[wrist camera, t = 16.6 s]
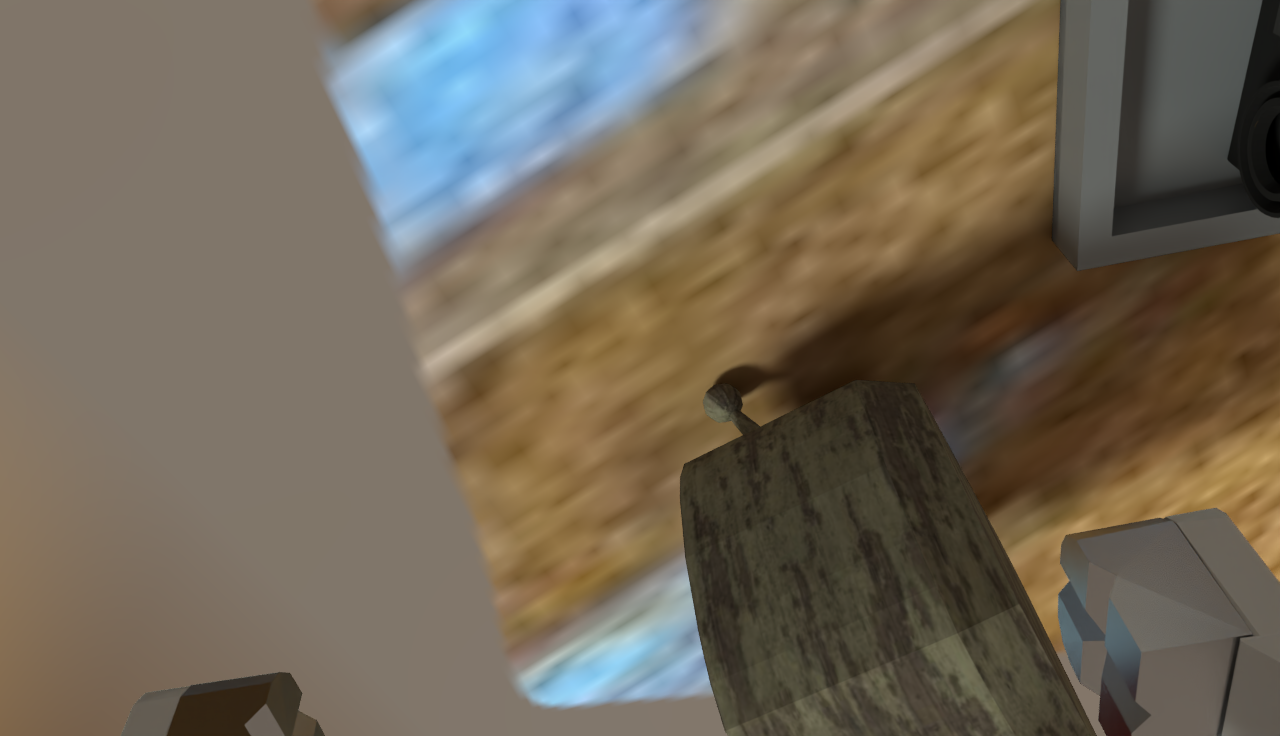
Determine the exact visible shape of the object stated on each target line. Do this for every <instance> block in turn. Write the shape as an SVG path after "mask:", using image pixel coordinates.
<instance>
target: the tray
mask: <svg viewBox="0 0 1280 736" xmlns="http://www.w3.org/2000/svg"><path fill="white" fill-rule="evenodd" d="M1261 5H1262V0H1061V5H1060V32H1059V59H1058V87H1057V114H1056V141H1055V168H1054V196H1053V223H1052V241H1053V242H1054V243H1055V245H1056V246H1057V247H1058V248H1059V249H1060V251H1061V252H1062V253H1063V254H1064V256H1065V257H1066V258H1067V259H1068V260H1069V262H1070V263H1071V264H1072V265H1073V267H1074V268H1075V269H1076V270H1077V271H1080V270H1085V269H1091V268H1096V267H1102V266H1107V265H1112V264H1118V263H1123V262H1128V261H1134V260H1139V259H1144V258H1150V257H1155V256H1161V255H1166V254H1171V253H1177V252H1182V251H1187V250H1193V249H1198V248H1203V247H1209V246H1214V245H1220V244H1225V243H1230V242H1236V241H1241V240H1246V239H1252V238H1257V237H1262V236H1268V235H1273V234H1279V233H1280V218H1272V217H1269V216H1267V215H1265V214H1263V213H1262V212H1260V211H1259V210H1258V209H1257V208H1256V207H1255V206H1254V205H1253V203H1252V202H1251V200H1250V199H1249V197H1248V195H1247V193H1246V191H1245V188H1244V186H1243V183H1242V179H1241V176H1240V171H1239V170H1238V169H1237V168H1236V167H1234V166H1233V165H1232V164H1231V163H1230V162H1229V161H1228V160H1227V157H1228V153H1229V148H1230V144H1231V139H1232V135H1233V130H1234V126H1235V121H1236V117H1237V112H1238V108H1239V103H1240V99H1241V94H1242V90H1243V85H1244V81H1245V76H1246V72H1247V67H1248V63H1249V58H1250V54H1251V49H1252V45H1253V40H1254V36H1255V31H1256V27H1257V23H1258V18H1259V14H1260V9H1261Z"/></svg>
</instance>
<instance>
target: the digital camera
mask: <svg viewBox="0 0 1280 736" xmlns="http://www.w3.org/2000/svg"><path fill="white" fill-rule="evenodd" d="M1227 160H1228V161H1229V162H1230V163H1231V164H1232V165H1233V166H1234V167H1236V168H1237V169H1238V170H1239V171H1240V176H1241V179H1242V183H1243V186H1244V188H1245V191H1246V193H1247V195H1248V197H1249V199H1250V200H1251V202H1252V203H1253V205H1254V206H1255V207H1256V208H1257V209H1258V210H1259V211H1260V212H1262V213H1263V214H1265V215H1267V216H1269V217H1272V218H1280V0H1262V5H1261V9H1260V14H1259V18H1258V23H1257V27H1256V31H1255V36H1254V40H1253V45H1252V49H1251V54H1250V58H1249V63H1248V67H1247V72H1246V76H1245V81H1244V85H1243V90H1242V94H1241V99H1240V103H1239V108H1238V112H1237V117H1236V121H1235V126H1234V130H1233V135H1232V139H1231V144H1230V148H1229V153H1228V157H1227Z"/></svg>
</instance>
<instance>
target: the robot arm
mask: <svg viewBox="0 0 1280 736" xmlns="http://www.w3.org/2000/svg"><path fill="white" fill-rule="evenodd" d="M1060 564H1061V565H1062V567H1063V569H1064V571H1065V573H1066V575H1067V577H1068V579H1069V582H1068V583H1067V585H1066V586H1065V587H1064V588H1063V589H1062V590H1061V591H1060V593H1059V594H1058V619H1059V624H1060V629H1061V635H1062V640H1063V644H1064V647H1065V650H1066V653H1067V655H1068V658H1069V661H1070V663H1071V666H1072V668H1073V670H1074V672H1075V674H1076V676H1077V678H1078V680H1079V682H1080V684H1082V685H1083V686H1085V687H1086V688H1088V689H1089V690H1091V691H1093V692H1094V693H1096V694H1097V695H1099V696H1100V704H1099V718H1098V720H1099V722H1100V724H1101V726H1102V728H1103V730H1104V732H1105V734H1106V736H1280V582H1279V581H1278V579H1277V578H1276V577H1275V576H1274V574H1273V573H1272V572H1271V570H1270V569H1269V568H1268V567H1267V565H1266V564H1265V563H1264V561H1263V560H1262V559H1261V558H1260V556H1259V555H1258V554H1257V552H1256V551H1255V550H1254V549H1253V547H1252V546H1251V545H1250V543H1249V542H1248V541H1247V540H1246V538H1245V537H1244V536H1243V534H1242V533H1241V532H1240V531H1239V529H1238V528H1237V527H1236V525H1235V524H1234V523H1233V522H1232V520H1231V519H1230V518H1229V516H1228V515H1227V514H1226V513H1224V512H1222V511H1221V510H1219V509H1217V508H1212V509H1207V510H1201V511H1195V512H1190V513H1184V514H1179V515H1173V516H1168V517H1165V518H1164V519H1163V518H1156V519H1150V520H1145V521H1139V522H1134V523H1129V524H1123V525H1118V526H1112V527H1107V528H1101V529H1096V530H1091V531H1085V532H1080V533H1074V534H1069V535H1066V536H1065V538H1064V540H1063V542H1062V544H1061V557H1060ZM301 696H302V692H301V690H300V689H299V687H298V685H297V684H296V682H295V680H294V679H293V677H292V675H291V674H290V673H283V672H278V673H271V674H264V675H257V676H250V677H244V678H237V679H230V680H223V681H217V682H211V683H203V684H196V685H191V686H188V687H181V688H174V689H168V690H161V691H154V692H148V693H145V694H144V695H143V696H142V697H141V698H140V699H139V700H138V701H137V702H136V703H135V704H134V706H133V707H132V710H131V712H130V715H129V717H128V720H127V722H126V725H125V727H124V729H123V732H122V734H121V736H325V735H324V733H323V731H322V729H321V727H320V725H319V724H318V722H317V720H315V719H313V718H311V717H310V716H308V715H306V714H304V713H302V712H300V711H298V709H299V705H300V700H301Z"/></svg>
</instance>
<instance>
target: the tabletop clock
mask: <svg viewBox="0 0 1280 736" xmlns="http://www.w3.org/2000/svg"><path fill="white" fill-rule="evenodd" d="M703 404H704V408H705V412H706V414H707V415H708V416H709V417H710V418H712V419H713V420H715V421H717V422H719V423H720V422H728V421H732V422H733V423H734V424H735V426H736V427H737V428H738V429H739V430H740V432H741V433H742V434H743V436H741V437H739V438H736V439H734V440H732V441H730V442H728V443H726V444H724V445H722V446H720V447H718V448H716V449H714V450H712V451H710V452H708V453H706V454H704V455H702V456H700V457H698V458H696V459H694V460H692V461H690V462H688V463H685V464H684V467H683V470H682V473H681V476H680V504H681V515H682V526H683V537H684V548H685V558H686V564H687V570H688V575H689V581H690V586H691V592H692V598H693V603H694V609H695V615H696V620H697V626H698V631H699V636H700V641H701V645H702V650H703V654H704V659H705V663H706V667H707V671H708V675H709V679H710V684H711V687H712V690H713V693H714V697H715V700H716V703H717V707H718V710H719V713H720V716H721V720H722V723H723V726H724V729H725V732H726V733H727V735H728V736H1097V735H1096V733H1095V731H1094V729H1093V727H1092V725H1091V723H1090V721H1089V719H1088V717H1087V715H1086V713H1085V711H1084V709H1083V707H1082V705H1081V703H1080V701H1079V699H1078V697H1077V695H1076V692H1075V690H1074V688H1073V686H1072V684H1071V682H1070V680H1069V678H1068V676H1067V674H1066V672H1065V670H1064V668H1063V666H1062V664H1061V662H1060V660H1059V658H1058V656H1057V654H1056V652H1055V650H1054V648H1053V646H1052V643H1051V641H1050V639H1049V637H1048V635H1047V633H1046V631H1045V629H1044V627H1043V625H1042V623H1041V621H1040V619H1039V617H1038V615H1037V613H1036V611H1035V609H1034V607H1033V605H1032V603H1031V601H1030V599H1029V597H1028V595H1027V593H1026V591H1025V589H1024V587H1023V585H1022V583H1021V581H1020V579H1019V577H1018V575H1017V573H1016V571H1015V569H1014V567H1013V565H1012V563H1011V561H1010V559H1009V557H1008V555H1007V553H1006V552H1005V550H1004V548H1003V546H1002V544H1001V542H1000V540H999V538H998V536H997V534H996V533H995V531H994V529H993V527H992V525H991V523H990V521H989V519H988V518H987V516H986V514H985V512H984V510H983V508H982V506H981V505H980V503H979V501H978V499H977V497H976V495H975V493H974V492H973V490H972V488H971V486H970V484H969V482H968V480H967V479H966V477H965V475H964V473H963V471H962V469H961V467H960V466H959V464H958V462H957V460H956V458H955V456H954V455H953V453H952V451H951V449H950V447H949V445H948V444H947V442H946V440H945V438H944V436H943V434H942V432H941V431H940V429H939V427H938V425H937V423H936V421H935V420H934V418H933V416H932V414H931V412H930V410H929V409H928V407H927V405H926V403H925V401H924V400H923V398H922V396H921V394H920V392H919V391H918V389H917V387H916V386H915V384H912V383H896V382H881V381H865V380H855V381H853V382H851V383H849V384H847V385H845V386H843V387H841V388H838V389H836V390H834V391H832V392H830V393H828V394H826V395H824V396H822V397H820V398H818V399H816V400H814V401H812V402H810V403H808V404H806V405H804V406H802V407H800V408H798V409H796V410H794V411H792V412H790V413H787V414H785V415H783V416H781V417H779V418H777V419H775V420H773V421H771V422H769V423H767V424H765V425H763V426H761V427H760V426H759V425H758V424H756V423H755V422H754V421H752V420H751V419H750V418H748V417H747V416H746V415H745V414H743V413H742V412H741V408H742V406H743V404H742V399H741V395H740V392H739V391H738V390H737V389H735V388H734V387H732V386H731V385H729V384H718V385H714V386H712V387H711V388H710V389H709V390H708V391H707V392H706V394H705V397H704V400H703Z"/></svg>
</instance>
